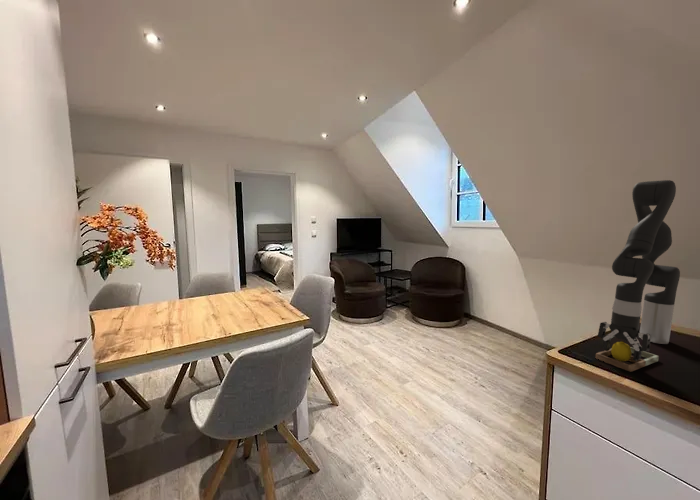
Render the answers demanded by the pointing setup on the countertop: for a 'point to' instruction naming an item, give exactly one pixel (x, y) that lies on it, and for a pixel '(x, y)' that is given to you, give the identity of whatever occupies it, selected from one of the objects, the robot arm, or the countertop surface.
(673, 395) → the countertop surface
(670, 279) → the robot arm
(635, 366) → the frame
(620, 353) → the lemon
